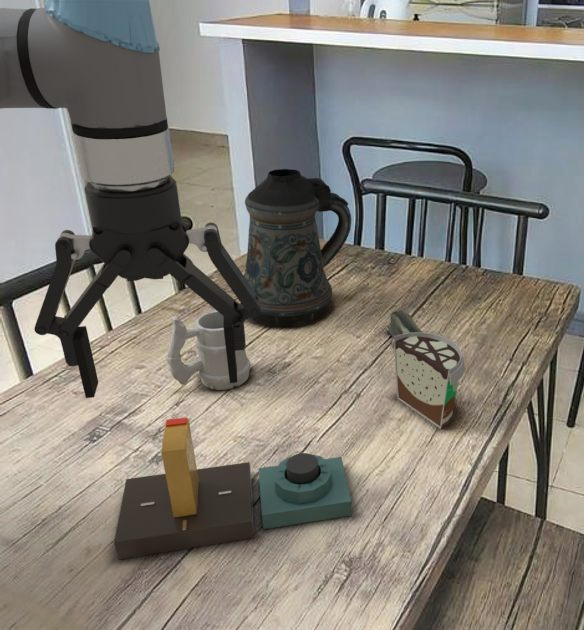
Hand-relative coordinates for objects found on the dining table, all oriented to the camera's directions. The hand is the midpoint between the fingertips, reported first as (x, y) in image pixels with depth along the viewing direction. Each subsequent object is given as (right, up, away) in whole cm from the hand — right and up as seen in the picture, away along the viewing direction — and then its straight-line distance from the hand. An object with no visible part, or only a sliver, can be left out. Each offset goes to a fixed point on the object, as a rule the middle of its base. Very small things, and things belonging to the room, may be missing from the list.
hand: (164, 383), depth 69 cm
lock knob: (0, -14, +7) cm, 15 cm away
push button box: (+12, -15, +11) cm, 22 cm away
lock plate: (0, -16, +8) cm, 18 cm away
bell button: (+12, -12, +10) cm, 20 cm away
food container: (+28, -6, +29) cm, 41 cm away
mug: (-5, -3, +33) cm, 33 cm away
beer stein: (+3, +9, +56) cm, 56 cm away
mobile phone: (+24, +1, +42) cm, 49 cm away
